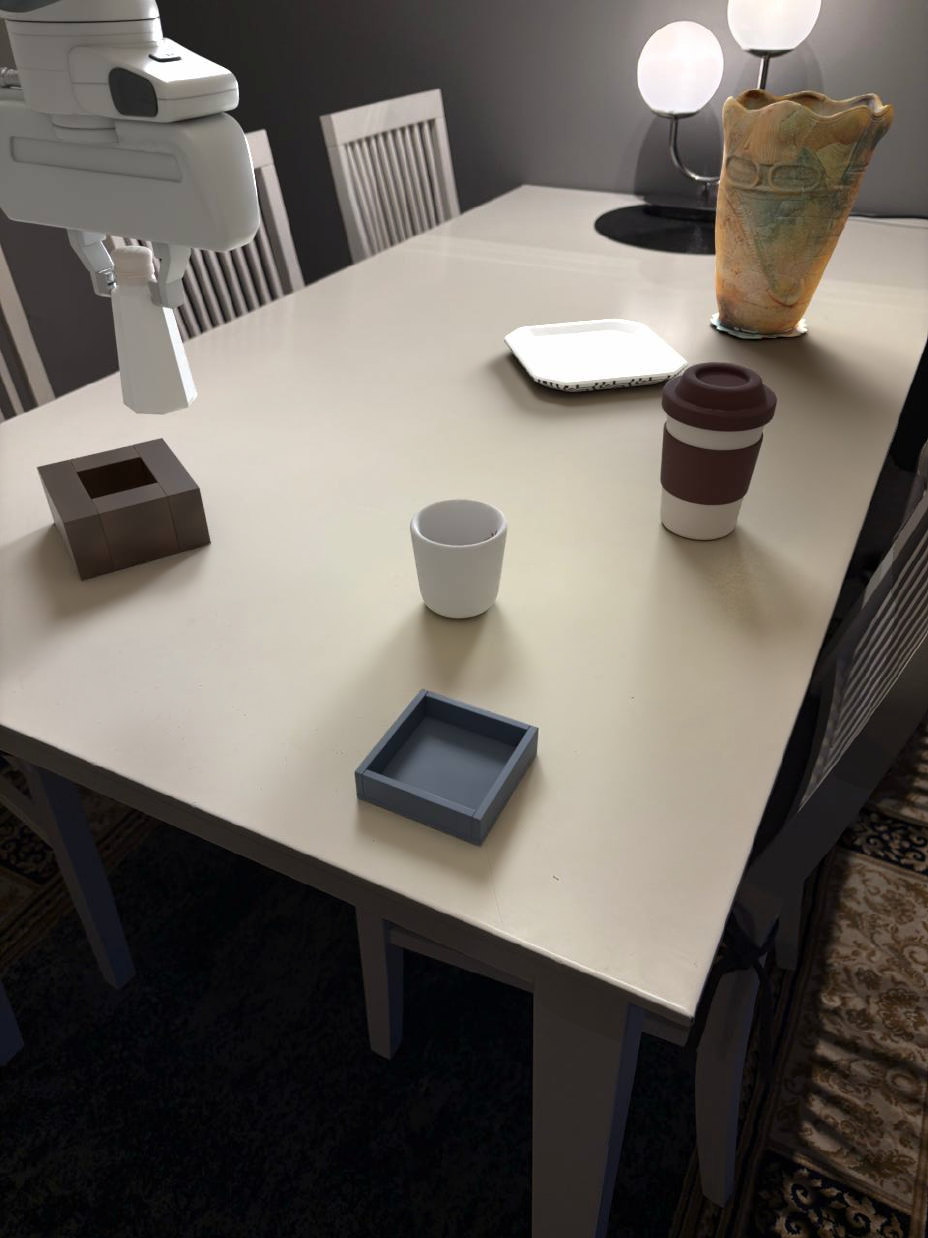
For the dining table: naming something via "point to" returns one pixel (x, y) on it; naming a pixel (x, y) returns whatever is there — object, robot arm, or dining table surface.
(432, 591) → the cup
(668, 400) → the coffee cup
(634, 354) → the plate
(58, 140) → the robot arm
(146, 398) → the pepper shaker
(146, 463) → the holder
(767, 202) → the vase
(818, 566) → the dining table surface
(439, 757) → the tray
